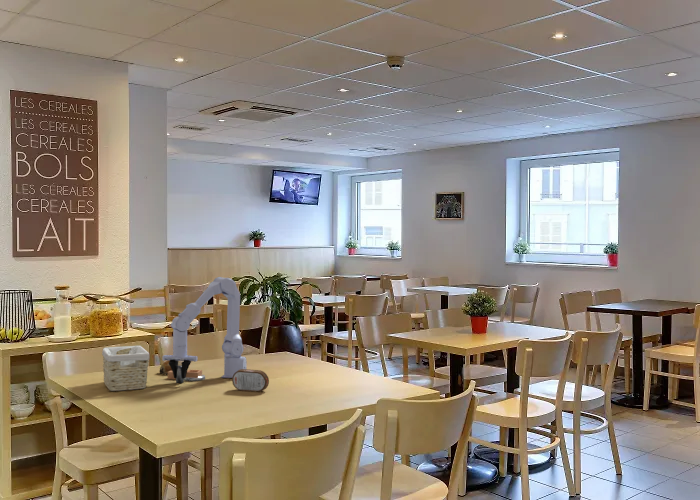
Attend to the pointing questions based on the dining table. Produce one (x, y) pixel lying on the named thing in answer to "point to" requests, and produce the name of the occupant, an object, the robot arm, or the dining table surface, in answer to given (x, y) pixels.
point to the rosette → (195, 378)
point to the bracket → (187, 374)
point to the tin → (250, 380)
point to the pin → (179, 374)
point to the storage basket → (125, 367)
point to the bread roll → (167, 367)
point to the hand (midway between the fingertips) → (179, 378)
